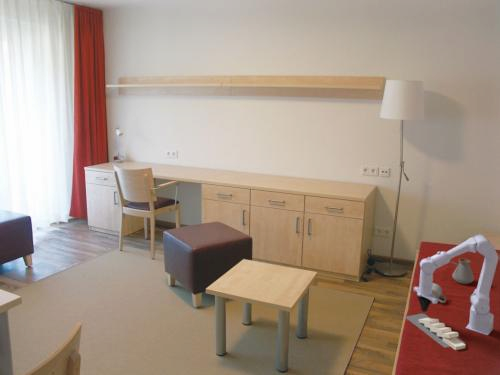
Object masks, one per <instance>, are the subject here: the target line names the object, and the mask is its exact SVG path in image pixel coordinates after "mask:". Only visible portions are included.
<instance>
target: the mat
mask: <svg viewBox="0 0 500 375" xmlns="http://www.w3.org/2000/svg"><path fill="white" fill-rule="evenodd" d="M404 318H405V319H406V320H408V321H409V322H410V323H412V325H414V326H416V327H417V328H418V329H419V330H421V331H422V332H423V333H424V334H426V335H427V336H428V337H430V338H431V339H432V340H434V342H436V343H437V344H439V345H440V346H442V347H443V348H444V349H445V348H450V346H449V345H448V344H446V343H445V342H444V341H443V340H442V339H443V337H439V336H437V334H436V332H430V328H427V327H425V326H424V324H423V323H419V320H418V319H423V318H431V317H429V316H428V315H426V313H424V312H423V313H418V314H411V315H406V316H404ZM455 338H457V339H458V340H460V341H461V342H462V343H464V344H465V345H466V342H465V341H463V340H462V339H461V338H459V336H457V337H455Z"/></svg>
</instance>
